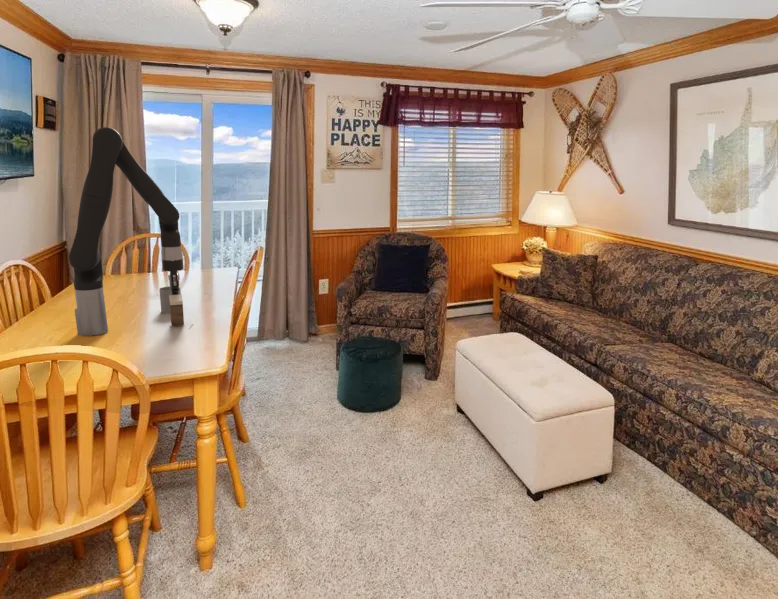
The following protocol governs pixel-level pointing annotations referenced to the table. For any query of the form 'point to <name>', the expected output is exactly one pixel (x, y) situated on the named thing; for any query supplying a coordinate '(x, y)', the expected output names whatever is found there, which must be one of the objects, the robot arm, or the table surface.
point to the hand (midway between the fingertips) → (175, 301)
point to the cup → (166, 298)
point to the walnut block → (176, 310)
